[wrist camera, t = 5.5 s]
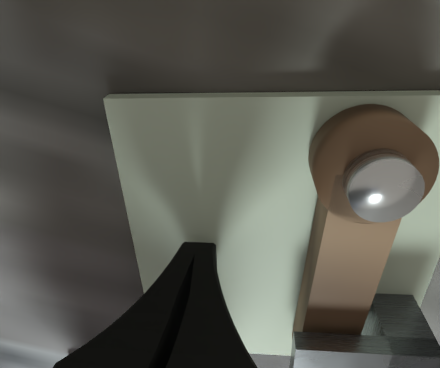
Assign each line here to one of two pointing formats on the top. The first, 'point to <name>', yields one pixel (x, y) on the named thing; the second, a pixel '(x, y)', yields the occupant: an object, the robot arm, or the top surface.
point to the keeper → (373, 340)
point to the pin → (382, 185)
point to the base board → (252, 194)
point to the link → (352, 218)
